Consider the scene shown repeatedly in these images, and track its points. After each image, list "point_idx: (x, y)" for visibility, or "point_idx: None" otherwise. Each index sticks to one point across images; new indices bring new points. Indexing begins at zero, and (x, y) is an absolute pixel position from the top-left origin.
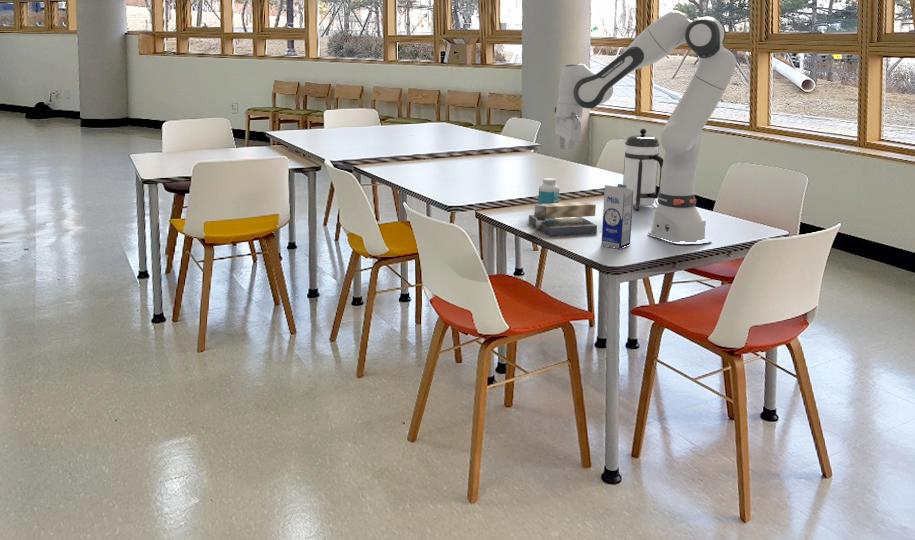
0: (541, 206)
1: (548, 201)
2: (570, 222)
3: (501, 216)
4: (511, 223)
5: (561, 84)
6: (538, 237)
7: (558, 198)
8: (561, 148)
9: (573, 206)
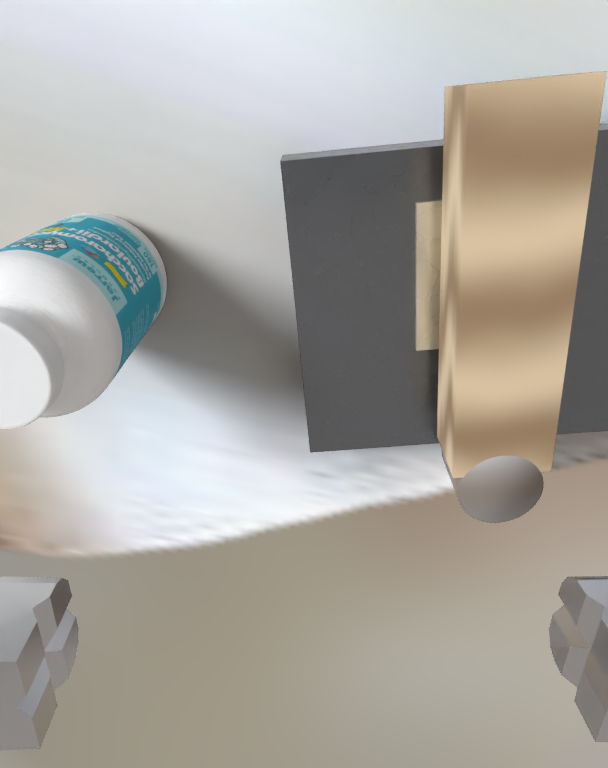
0: (527, 495)
1: (142, 329)
2: None
3: (137, 506)
4: (295, 497)
5: None
6: (603, 452)
7: (92, 249)
8: (75, 632)
9: (574, 285)
